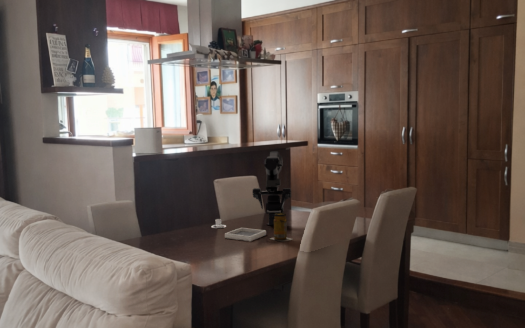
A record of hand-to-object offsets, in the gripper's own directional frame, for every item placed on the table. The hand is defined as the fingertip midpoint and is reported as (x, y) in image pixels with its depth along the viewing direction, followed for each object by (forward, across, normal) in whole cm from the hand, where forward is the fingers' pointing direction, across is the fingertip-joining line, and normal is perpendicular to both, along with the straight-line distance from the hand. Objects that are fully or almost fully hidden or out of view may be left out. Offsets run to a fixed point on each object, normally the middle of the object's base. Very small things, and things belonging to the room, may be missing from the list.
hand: (271, 208), depth 246 cm
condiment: (+15, +5, +1) cm, 16 cm away
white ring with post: (+1, -31, +23) cm, 39 cm away
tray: (+12, -13, +5) cm, 18 cm away
